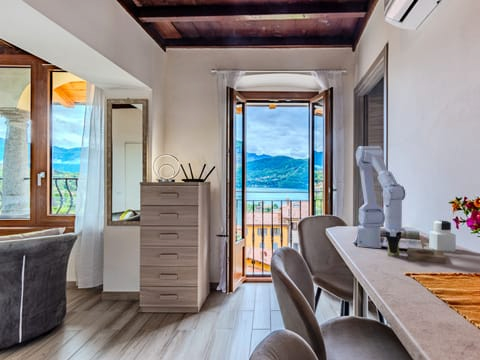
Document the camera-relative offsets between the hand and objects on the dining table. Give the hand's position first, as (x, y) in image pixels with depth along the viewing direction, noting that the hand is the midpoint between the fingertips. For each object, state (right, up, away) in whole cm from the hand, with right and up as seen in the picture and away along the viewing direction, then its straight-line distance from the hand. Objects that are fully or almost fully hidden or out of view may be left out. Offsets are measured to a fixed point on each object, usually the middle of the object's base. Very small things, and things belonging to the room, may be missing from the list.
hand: (393, 251), depth 127 cm
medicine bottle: (+25, -1, +9) cm, 26 cm away
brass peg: (0, -2, 0) cm, 2 cm away
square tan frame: (+11, -2, -3) cm, 11 cm away
